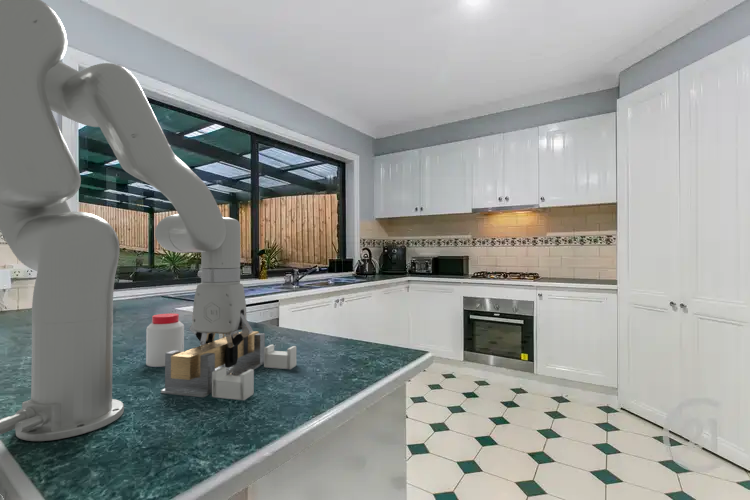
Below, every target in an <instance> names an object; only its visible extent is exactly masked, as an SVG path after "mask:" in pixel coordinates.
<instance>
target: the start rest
mask: <svg viewBox="0 0 750 500" xmlns="http://www.w3.org/2000/svg"><path fill="white" fill-rule="evenodd" d="M296 366H297V346H296V345H292V346H290V347H288V348H287V350H286V351H282V350H275V344H269V345H267V346H265V348H264V364H263V367H264V368H269V369H270V368H271V369H279V370H280V369H281V370H282V369H283V370H292V369H293V368H295V367H296ZM254 375H255V369H254V370H252V369H249V370H248V371H246V372H244V373H242V374H240V376H231V375H226V367H222V368H220V369H218V370H216V371H213V372H212V393H211V397H212V398H219V399H228V400H238V401H246V400H247V399H249V398H250V397H251V396H253V395H254V394H255V392H254V389H255V387H254V386H255V385H254V381H255V379H254V378H255V376H254Z"/></svg>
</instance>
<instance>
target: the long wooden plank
mask: <svg viewBox="0 0 750 500" xmlns="http://www.w3.org/2000/svg"><path fill="white" fill-rule="evenodd" d="M241 332H242V331H239V333H241ZM258 333H260V331H256V330H255V331H254V330H253V332H252V333H251V334H249V335H248V336H247V337H245V338H244V339H243V340H242V341H241V343H240V344H239V345H238V358H239V357H241V356H244V355H246V354H248V353H250V352H252V351H254V335H255V334H258ZM227 347H228V344H227V339H226V337H225V336H224V338H221V339H219V338H218V339H216V340H214V341H213V342H210V343H207V344H204V345H201V344H200V345H199V346H195V347H192V348H190V349H187V350H184V352H181V353H178V354H175V355H172V356H171V378H173V379H184V380H191V379H193V378H195V377H198V376H200V356H201V355H204V354H206V353H215V368H217V367H219V366H222V365H224V364H225V349H226V348H227Z"/></svg>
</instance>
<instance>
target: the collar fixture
mask: <svg viewBox="0 0 750 500" xmlns="http://www.w3.org/2000/svg"><path fill="white" fill-rule="evenodd" d="M265 335H266V333H265V332H263V333H261V332H259V333H258V334H255V335H254V351H252V352H250V353H248V354H246V355H244V356H241V357H239V358H238V360H237V363H236V364H235V365H233V366H231V367H229V368H228V367H226V375H231V376H240V374H242V373H244V372H246V371H248V370H249V369H252V370H254V371H255V369H256V370H257V369H258V368H260V367H261V366H264V348H265V347H266V346H265V345H266V341H265V340H266V338H265V337H266V336H265ZM224 337H226V334H219V333H218V340H219V339H221V338H224ZM178 353H180V351H174V350H173V351H170V352H167V353H165V366H164V368H165V369H164V388H162V389H160V394H166V395H177V396H187V397H198V398H205V397H207V396H209V395H212V372H213V371H216V370H218V369H220V368H222V367H225V364H224V365H222V366H219V367H217V368H215V353H206V354H204V355H201V356H200V376H198V377H195V378H193V379H191V380H184V379H173V378H171V356H172V355H175V354H178Z"/></svg>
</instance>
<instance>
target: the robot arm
mask: <svg viewBox="0 0 750 500" xmlns="http://www.w3.org/2000/svg"><path fill="white" fill-rule="evenodd" d="M65 29H66V28H65V27H64V24H63V22H62V21H61V19H60V17H59V16H58V14H57V13H56V11H54V9H53V8H52V7H50V6H49V5H48V4H47V3H46V2H44V1H43V0H0V233H1V235H2V237H3V238H4V240H5V242H6V243H7V245H8V246H9V248H10V250H11V252H12V253H13V254H14V256H15V257H16V258H17V260H18V261H20V263H22V265H24V266H25V267H27V268H29V269H31V270H33V271H36V275H35V277H36V278H35V282H34V287H33V293H32V302H31V303H32V304H31V324H32V325H31V372H30V373H31V381H30V382H31V385H30V387H31V388H30V399H28V400H26V401H23V402H21V408H20V409H19V410H17V411H16V412H15V414H12V415H10V416H5V417H2V418H0V435H3V434H5V433H7V432H11V431H13V430H15V436H16V437H17V438H18V439H20V440H23V441H28V442H29V441H30V442H45V441H46V442H49V441H56V440H63V439H67V438H73V437H76V436H80V435H83V434H87V433H91V432H93V431H96V430H99V429H101V428H103V427H105V426H108V425H110V424H111V423H113V422H116V421H117V420H118V419H119V418H120V417H122V415H123V414H124V411H125V405H124V403H123V402H122V401H120V400H119V399H114V398H113V355H114V354H113V352H114V351H113V350H114V349H113V348H114V347H113V344H114V342H113V341H114V339H113V338H114V335H113V334H114V290H115V280H116V274H117V269H118V263H119V258H120V249H121V248H120V240H119V237H118V234H117V232H116V231H115V229H114V228H113V226H112V225H111V224H110V223H109V222H108V221H107V220H106V219H104V218H102V217H100V216H98V215H95V214H93V213H90V212H85V211H72V210H71V209H70V206H69V205H68V202H67V201H68V200H70V199H72V198H73V197H74V196H75V195H76V194H77V193H78V191H79V189H80V187H81V183H82V182H81V181H82V178H81V174H80V170H79V167H78V165H77V163H76V160H75V158H74V157H73V155H72V153H71V151H70V149H69V147H68V144H67V142H66V140H65V137H64V136H63V133H62V132H61V128H60V127H59V126H58V123H57V121H56V119H55V116H54V114H53V112H54V113H56V114H59V115H60V116H62V117H64V118H67V119H68V120H72V121H73V122H76V123H78V124H80V125H83V126H84V125H85V126H87V127H93V128H100V130H101V133H102V134H103V136H104V138H105V140H106V142H107V143H108V144H109V146H110V148H111V150H112V153H113V154H114V156H115V157H116V159H117V161H118V162H119V165H120V167H121V168H122V170H123V171H125V172H126V173H128V174H129V175H131V176H132V177H134V178H135V179H138V180H140V181H142V182H144V183H146V184H148V185H150V186H152V187H153V188H155V189H156V190H157V191H159V192H160V194H162V195H163V196H164V197H165V198H167V200H168V201H169V202H170V203H171V205H172V206H173V207H174V209H175V210H176V213H175V214H171V215H168V216H165V217H164V218H163V219H161V220H160V221H159V222H158V223H157V224H156V226H155V230H154V231H155V232H154V236H155V239H156V241H157V243H158V244H159V245H160V246H161V247H162V248H164V249H165V250H168V251H170V252H173V253H182V254H183V253H188V254H189V253H201V254H200V255H201V259H200V260H201V261H200V262H201V263H200V264H201V266H200V270H199V271H198V272H197V277H198V278H200V280H201V281H200V283H198V284H197V285H196V287H195V293H194V297H193V298H194V299H193V305H192V320H191V321H192V322H191V325H190V327H189V328H188V329H189V331H190V332H191V333H192V334H193V335H194V336H195V337H196V338H197V339H198V341H199V343H200V346H201V345H204V344H207V343H210V342H213V341H215V337H216V334H218V335H219V334H224V335H225V334H226V339H227V344H228V347H227V348H226V349H225V367H228V368H229V367H231V366H233V365H235V364H236V363H237V360H238V345H239V344H240V343H241V341H242V340H243V339H244V338H245V337H247V336H248V335H249V334H251V333H252V332H253V331H254V330H253V328H252V326H251V325H250V323H249V322H248V320H247V303H246V302H247V301H246V293H245V289H244V284H243V283H242V282H241V224H240V221H239V220H238V219H235V218H232V217H226V216H225V217H224V216H223V215H222V212H221V209H220V207H219V205H218V204H217V201H216V200H215V197H214V195H213V193H212V191H211V190H210V188H209V187H208V185H206V184H205V182H204V181H203V180H202V179H201V177H200V176H198V175H197V174H196V173H195V172H194V171H193V170H192V168H190V166H188V165H187V164H186V163H185V162H184V161H183V160H182V159H180V158H179V157H178V156H177V154H175V153H174V151H173V149H172V147H171V145H170V143H169V141H168V138H166V134H165V133H164V131H163V129H162V127H161V125H160V122H159V121H158V119H157V116H156V115H155V113H154V111H153V109H152V107H151V104H150V103H149V101H148V98H147V97H146V94H145V92H144V91H143V88H142V87H141V84H140V82H139V81H138V79H137V78H136V77H135V76H134V74H133V73H132V72H131V71H130V70H128V69H127V68H126V67H124V66H122V65H120V64H116V63H109V62H105V63H104V62H103V63H98V64H94V65H91V66H89V67H86V68H85V69H82V70H81V71H79V70H77V69H75V68H73V67H71V66H69V65H67V64H66V63H64V62H63V61H62V59H63V58H64V56H65V54H66V52H67V48H68V39H67V32H66V30H65ZM240 330H241V331H240ZM239 332H241V333H239Z"/></svg>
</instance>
